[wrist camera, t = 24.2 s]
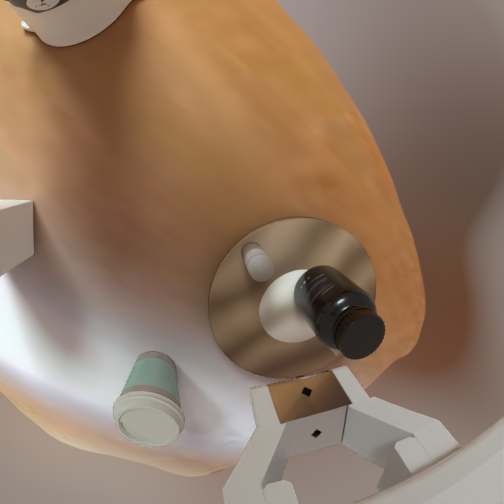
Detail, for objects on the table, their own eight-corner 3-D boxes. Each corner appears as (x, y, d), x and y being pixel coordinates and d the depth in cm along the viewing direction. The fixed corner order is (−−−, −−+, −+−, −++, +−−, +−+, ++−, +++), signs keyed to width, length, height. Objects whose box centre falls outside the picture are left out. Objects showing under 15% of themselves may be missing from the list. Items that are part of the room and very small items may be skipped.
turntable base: (214, 240, 36) (216, 248, 33) (353, 223, 39) (367, 229, 35) (236, 387, 43) (239, 402, 39) (348, 363, 45) (357, 375, 42)
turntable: (170, 297, 36) (164, 328, 28) (314, 179, 35) (342, 183, 27) (277, 394, 43) (290, 429, 35) (392, 302, 41) (422, 325, 34)
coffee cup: (119, 346, 38) (98, 404, 26) (177, 339, 39) (172, 399, 28) (137, 391, 40) (126, 450, 29) (191, 386, 41) (192, 447, 30)
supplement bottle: (353, 281, 37) (406, 324, 26) (320, 323, 38) (361, 378, 27) (315, 252, 35) (365, 291, 24) (280, 298, 36) (314, 354, 25)
